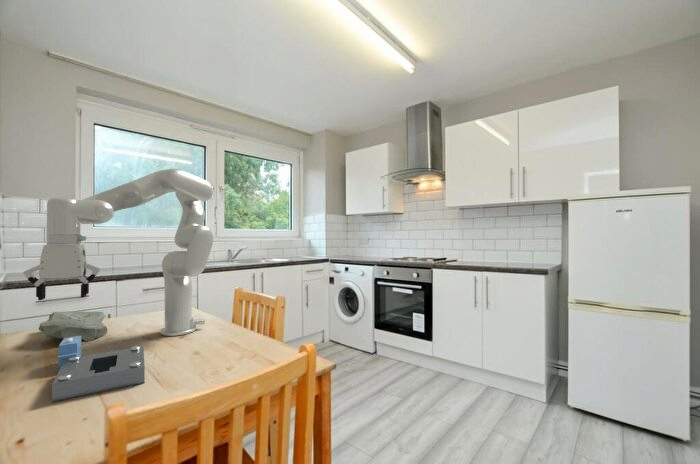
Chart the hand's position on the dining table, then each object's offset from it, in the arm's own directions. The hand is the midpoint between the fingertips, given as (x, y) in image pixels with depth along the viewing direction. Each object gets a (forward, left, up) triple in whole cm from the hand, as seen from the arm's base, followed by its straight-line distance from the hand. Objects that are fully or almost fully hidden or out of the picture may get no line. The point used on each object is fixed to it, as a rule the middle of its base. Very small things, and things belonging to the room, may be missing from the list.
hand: (63, 298), depth 97 cm
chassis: (-11, +18, -20) cm, 29 cm away
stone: (+2, -34, -20) cm, 39 cm away
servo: (-2, +2, -20) cm, 20 cm away
